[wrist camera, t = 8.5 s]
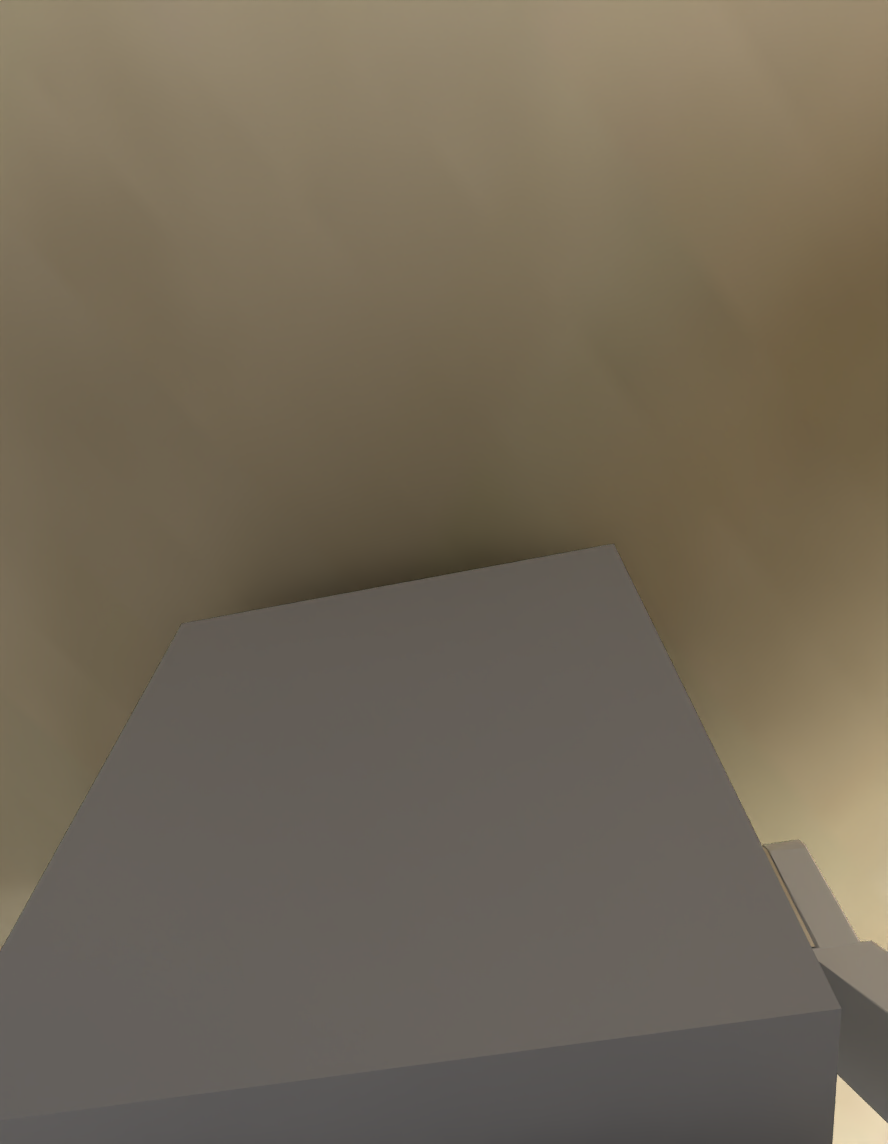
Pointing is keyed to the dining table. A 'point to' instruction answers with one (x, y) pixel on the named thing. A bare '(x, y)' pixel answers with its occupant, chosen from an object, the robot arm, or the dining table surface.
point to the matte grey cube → (417, 893)
